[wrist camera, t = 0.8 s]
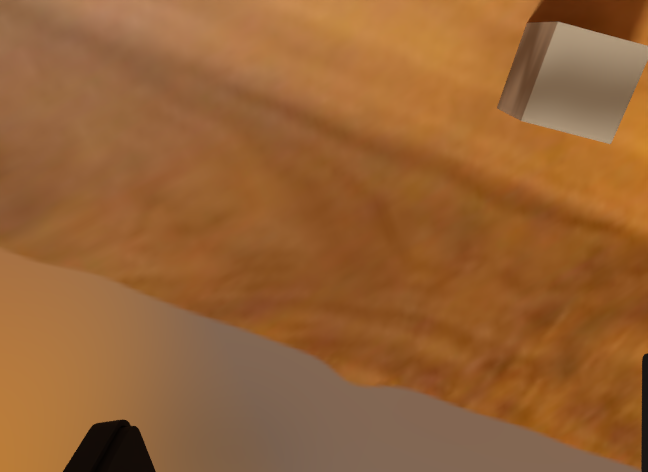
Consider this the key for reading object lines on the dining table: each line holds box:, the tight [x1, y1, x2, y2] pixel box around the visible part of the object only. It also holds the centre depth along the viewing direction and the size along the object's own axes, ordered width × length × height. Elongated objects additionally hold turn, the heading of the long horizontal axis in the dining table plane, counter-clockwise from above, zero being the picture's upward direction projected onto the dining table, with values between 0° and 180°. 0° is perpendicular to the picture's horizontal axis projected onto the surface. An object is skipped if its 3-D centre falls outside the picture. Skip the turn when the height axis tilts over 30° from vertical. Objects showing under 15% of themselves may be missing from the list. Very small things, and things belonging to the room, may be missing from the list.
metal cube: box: [497, 22, 648, 144], centre depth 30 cm, size 5×5×5 cm
